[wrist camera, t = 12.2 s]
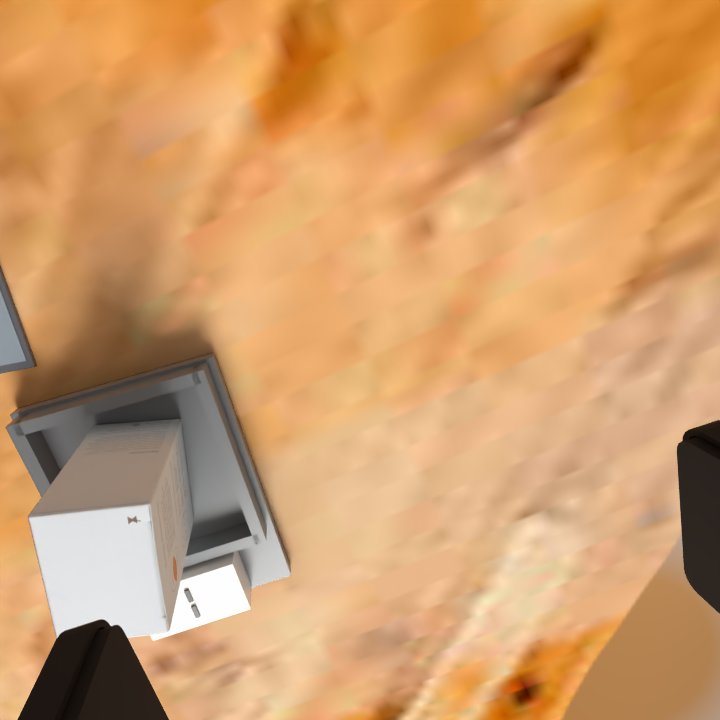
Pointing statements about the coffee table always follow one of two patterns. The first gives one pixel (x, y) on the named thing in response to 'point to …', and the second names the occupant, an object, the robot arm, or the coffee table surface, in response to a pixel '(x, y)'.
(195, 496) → the grey tray
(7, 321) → the phone
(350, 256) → the coffee table surface
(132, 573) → the small box
